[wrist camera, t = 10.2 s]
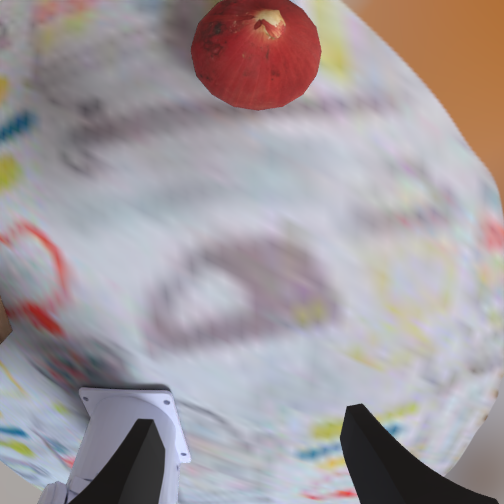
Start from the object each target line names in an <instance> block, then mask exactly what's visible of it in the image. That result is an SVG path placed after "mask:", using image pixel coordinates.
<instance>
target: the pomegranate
mask: <svg viewBox="0 0 504 504" xmlns="http://www.w3.org/2000/svg"><path fill="white" fill-rule="evenodd" d="M191 55H192V59H193V64H194V68H195V72H196V76H197V77H198V78H199V80H200V81H201V82H202V83H203V84H204V86H205V87H206V88H207V89H208V90H209V91H210V93H211V94H212V95H214V96H215V97H217V98H219V99H221V100H223V101H224V102H226V103H228V104H230V105H232V106H233V107H240V108H246V109H252V110H264V109H270V108H277V107H283V106H285V105H286V104H288V103H290V102H291V101H293V100H295V99H296V98H298V97H300V96H301V95H303V94H304V92H305V91H306V90H307V88H308V87H309V85H310V84H311V82H312V81H313V80H314V78H315V77H316V75H317V72H318V68H319V62H320V57H321V46H320V42H319V37H318V33H317V29H316V26H315V25H314V24H313V22H312V21H311V20H310V18H309V17H308V16H307V14H306V13H305V12H304V10H303V9H302V8H300V7H299V6H297V5H295V4H294V3H292V2H291V1H289V0H223V1H221V2H219V3H217V4H216V5H215V6H214V7H213V8H212V9H211V10H210V12H209V13H208V14H207V15H206V16H205V17H204V18H203V19H202V20H201V21H200V22H199V23H198V26H197V29H196V33H195V36H194V39H193V43H192V46H191Z"/></svg>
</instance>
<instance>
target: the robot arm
mask: <svg viewBox="0 0 504 504" xmlns="http://www.w3.org/2000/svg"><path fill="white" fill-rule="evenodd" d="M79 395H80V397H81V399H82V402H83V404H84V406H85V408H86V410H87V412H88V414H89V416H90V418H91V419H90V422H89V424H88V427H87V429H86V432H85V435H84V437H83V440H82V442H81V445H80V448H79V451H78V453H77V456H76V459H75V462H74V464H73V467H72V470H71V473H70V476H69V479H68V482H67V484H66V485H65V484H63V483H61V482H59V481H57V482H55V483H51V484H48V485H47V486H46V487H45V489H44V490H43V492H42V494H41V496H40V499H39V501H38V503H37V504H177V500H178V487H179V475H180V464H181V463H189V462H191V455H190V452H189V449H188V446H187V443H186V440H185V436H184V433H183V430H182V427H181V423H180V420H179V416H178V413H177V410H176V406H175V402H174V399H173V395H172V393H171V392H170V391H167V390H122V389H101V388H86V387H81V388H80V389H79ZM86 397H87V398H86ZM165 400H168V401H165ZM340 441H341V446H342V450H343V455H344V459H345V462H346V465H347V468H348V470H349V473H350V476H351V479H352V481H353V484H354V487H355V490H356V492H357V495H358V498H359V500H360V503H361V504H499V503H498V501H497V500H496V499H494V498H491V497H488V496H484V495H481V494H478V493H475V492H473V491H471V490H468V489H466V488H464V487H462V486H460V485H457V484H456V483H454V482H452V481H450V480H448V479H446V478H445V477H443V476H441V475H440V474H438V473H437V472H435V471H433V470H432V469H430V468H429V467H428V466H426V465H425V464H423V463H422V462H421V461H420V460H418V459H417V458H416V457H415V456H413V455H412V454H411V453H410V452H409V451H408V450H406V449H405V448H404V447H403V446H402V445H401V444H400V443H399V442H398V441H397V440H396V439H395V438H394V437H393V436H392V435H391V434H390V433H389V432H388V431H387V430H386V429H385V428H384V427H383V426H382V425H381V424H380V423H379V422H378V421H377V420H376V418H375V417H374V416H373V415H372V414H371V413H370V412H369V410H368V409H367V408H366V407H365V406H364V405H363V404H357V405H352V406H347V408H346V413H345V417H344V422H343V426H342V431H341V435H340Z"/></svg>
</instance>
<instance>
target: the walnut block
mask: <svg viewBox="0 0 504 504" xmlns="http://www.w3.org/2000/svg"><path fill="white" fill-rule="evenodd" d="M11 332H12V328H11V325H10V323H9V320H8V317H7V314H6V311H5V309H4V306H3V303H2V300H1V296H0V344H1V343H2V342H3V341H4V340H5V338H6V337H7V336H8V335H9V334H10V333H11Z"/></svg>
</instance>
